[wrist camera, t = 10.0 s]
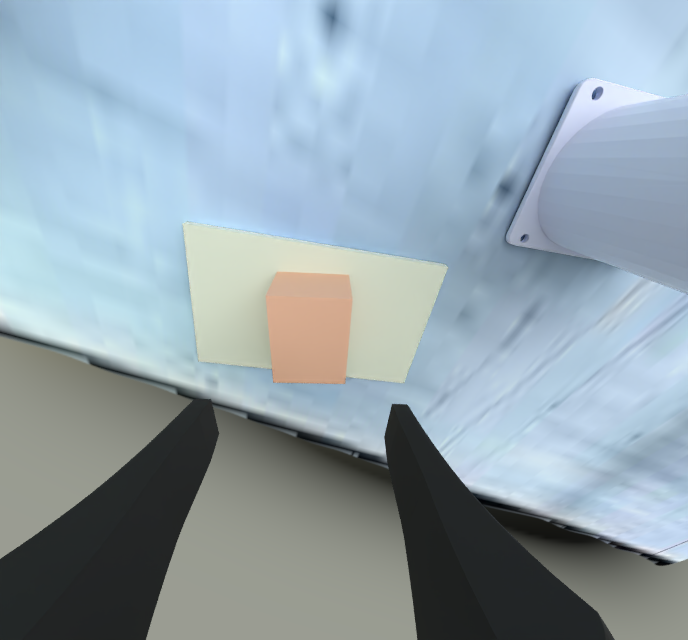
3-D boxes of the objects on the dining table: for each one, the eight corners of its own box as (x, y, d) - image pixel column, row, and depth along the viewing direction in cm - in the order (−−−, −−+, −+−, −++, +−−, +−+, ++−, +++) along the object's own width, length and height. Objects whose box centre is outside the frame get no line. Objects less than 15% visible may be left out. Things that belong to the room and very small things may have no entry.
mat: (444, 264, 18) (448, 267, 17) (402, 378, 23) (403, 383, 22) (187, 221, 16) (182, 223, 15) (201, 356, 21) (198, 361, 20)
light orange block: (343, 350, 20) (345, 383, 17) (282, 349, 20) (273, 382, 17) (348, 274, 17) (352, 299, 14) (277, 271, 17) (265, 295, 14)
